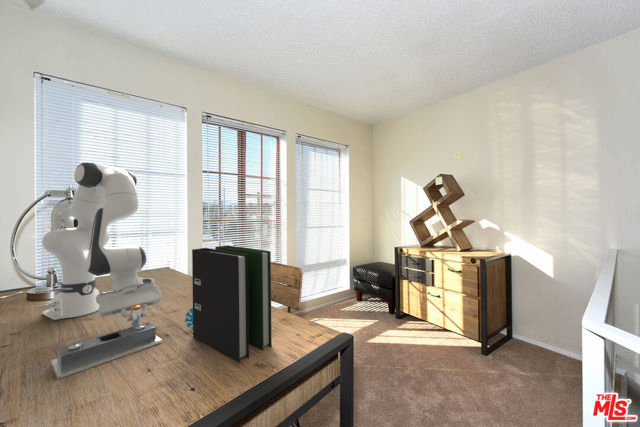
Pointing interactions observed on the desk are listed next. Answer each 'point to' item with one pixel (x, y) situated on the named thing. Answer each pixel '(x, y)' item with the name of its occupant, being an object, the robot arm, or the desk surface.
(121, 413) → the desk surface
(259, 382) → the desk surface
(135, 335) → the grey slotted bar
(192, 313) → the gear
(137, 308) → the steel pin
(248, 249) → the binders
